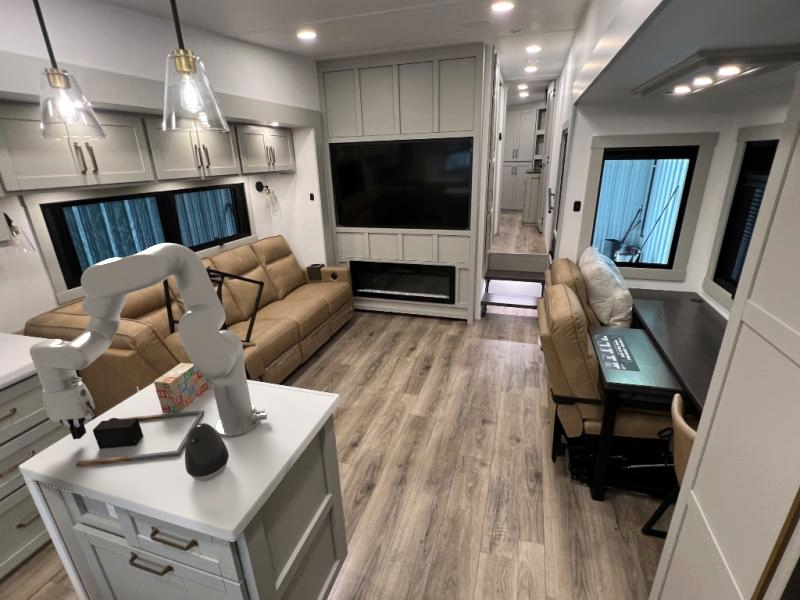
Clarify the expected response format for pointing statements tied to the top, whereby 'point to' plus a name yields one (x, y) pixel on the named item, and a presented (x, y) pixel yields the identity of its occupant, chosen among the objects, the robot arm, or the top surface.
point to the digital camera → (118, 433)
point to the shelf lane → (116, 459)
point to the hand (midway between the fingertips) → (80, 436)
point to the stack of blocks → (180, 387)
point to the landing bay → (183, 443)
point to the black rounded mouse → (205, 453)
